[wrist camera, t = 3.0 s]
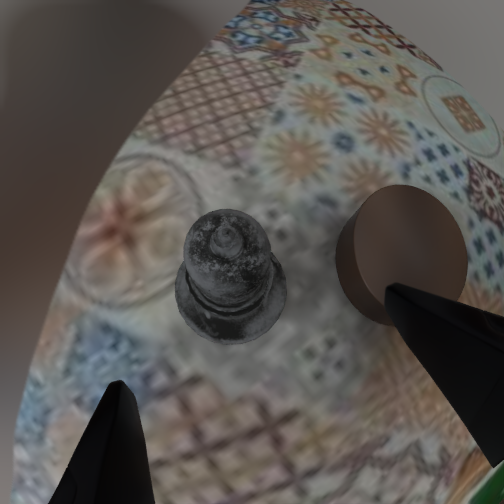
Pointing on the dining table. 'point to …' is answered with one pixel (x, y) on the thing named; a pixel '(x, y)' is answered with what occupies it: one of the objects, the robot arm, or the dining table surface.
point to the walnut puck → (400, 249)
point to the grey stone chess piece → (229, 279)
